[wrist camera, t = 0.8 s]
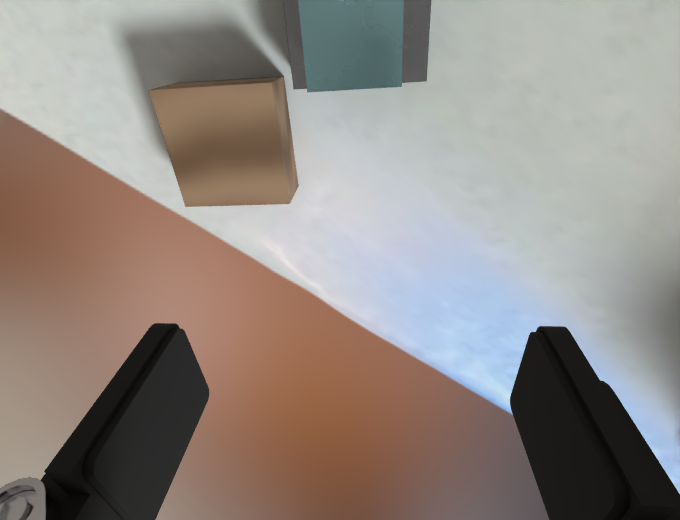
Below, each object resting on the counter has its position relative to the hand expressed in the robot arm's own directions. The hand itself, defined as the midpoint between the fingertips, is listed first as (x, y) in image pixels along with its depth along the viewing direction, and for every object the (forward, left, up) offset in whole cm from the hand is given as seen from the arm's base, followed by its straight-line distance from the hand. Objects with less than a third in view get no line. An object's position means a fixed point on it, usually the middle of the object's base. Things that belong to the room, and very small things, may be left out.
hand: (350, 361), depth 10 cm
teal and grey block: (-9, 0, -20) cm, 22 cm away
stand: (-1, -11, -24) cm, 26 cm away
